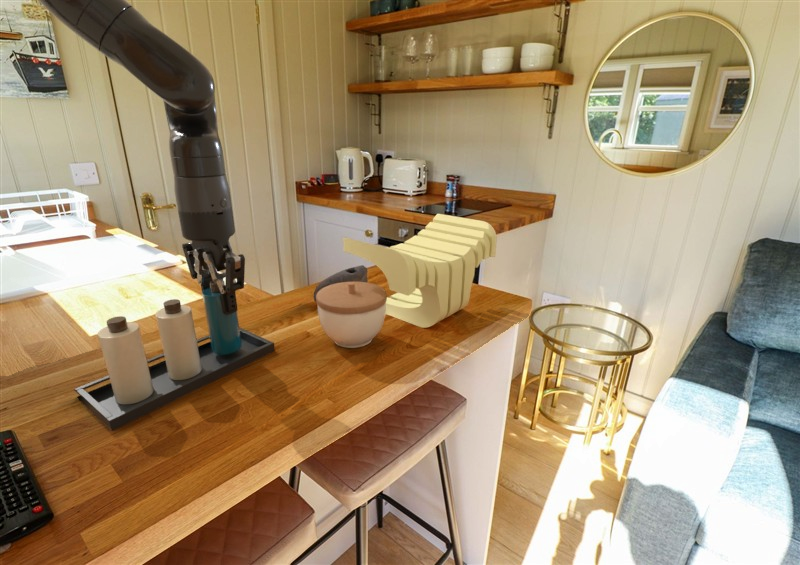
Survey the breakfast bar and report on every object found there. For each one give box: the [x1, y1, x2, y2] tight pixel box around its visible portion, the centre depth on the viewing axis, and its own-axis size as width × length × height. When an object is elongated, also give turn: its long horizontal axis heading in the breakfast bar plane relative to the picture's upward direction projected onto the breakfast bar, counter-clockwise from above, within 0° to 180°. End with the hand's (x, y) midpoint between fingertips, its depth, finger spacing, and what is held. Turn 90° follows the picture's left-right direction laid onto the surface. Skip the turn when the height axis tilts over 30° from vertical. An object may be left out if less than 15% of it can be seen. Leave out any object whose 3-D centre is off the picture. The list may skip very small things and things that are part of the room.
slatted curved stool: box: [342, 213, 498, 329], centre depth 88 cm, size 30×16×18 cm, turn 139°
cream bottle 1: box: [97, 315, 154, 405], centre depth 59 cm, size 5×5×12 cm
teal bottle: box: [201, 280, 242, 355], centre depth 70 cm, size 5×5×12 cm
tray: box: [73, 326, 276, 432], centre depth 67 cm, size 12×26×2 cm, turn 144°
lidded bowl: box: [315, 282, 388, 349], centre depth 77 cm, size 13×13×11 cm
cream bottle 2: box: [154, 298, 202, 380], centre depth 65 cm, size 5×5×12 cm
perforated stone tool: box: [313, 264, 369, 304], centre depth 94 cm, size 15×5×7 cm, turn 133°
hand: (220, 308), depth 70 cm, fingers closed on teal bottle, 5 cm apart
